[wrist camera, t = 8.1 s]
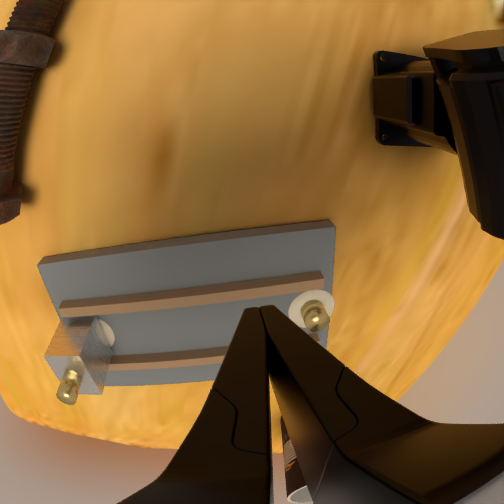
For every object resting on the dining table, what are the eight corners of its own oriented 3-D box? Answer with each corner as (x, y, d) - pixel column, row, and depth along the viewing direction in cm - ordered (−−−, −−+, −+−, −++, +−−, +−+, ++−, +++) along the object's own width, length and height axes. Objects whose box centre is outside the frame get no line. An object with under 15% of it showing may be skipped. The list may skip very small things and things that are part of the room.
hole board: (333, 219, 21) (345, 232, 19) (323, 353, 27) (331, 370, 26) (43, 257, 20) (31, 272, 18) (99, 376, 26) (94, 394, 24)
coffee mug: (301, 438, 35) (319, 504, 26) (254, 422, 32) (268, 500, 23) (376, 391, 32) (409, 459, 23) (339, 366, 29) (375, 450, 20)
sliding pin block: (95, 314, 21) (71, 379, 15) (112, 352, 23) (97, 416, 17) (63, 316, 21) (34, 377, 15) (81, 353, 22) (62, 414, 17)
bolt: (79, 0, 13) (21, 195, 19) (18, -11, 10) (-35, 191, 15) (90, -21, 10) (18, 231, 15) (11, -34, 6) (-52, 227, 12)
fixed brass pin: (323, 297, 23) (330, 310, 21) (322, 316, 24) (328, 329, 22) (300, 301, 23) (306, 315, 21) (300, 320, 24) (305, 334, 22)
